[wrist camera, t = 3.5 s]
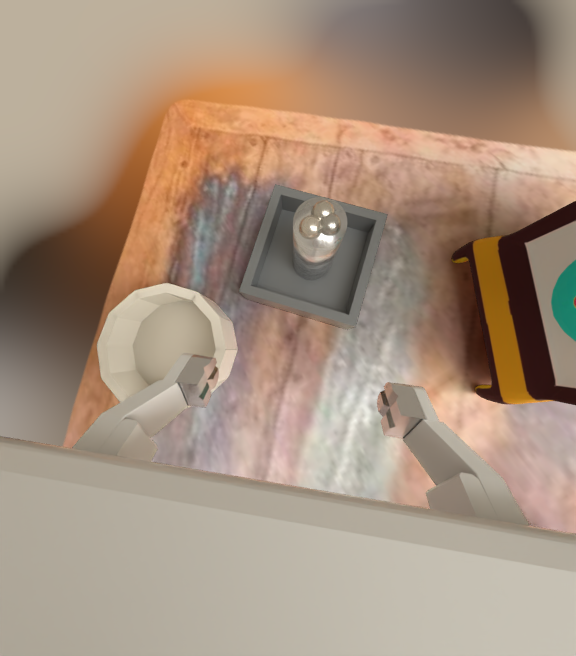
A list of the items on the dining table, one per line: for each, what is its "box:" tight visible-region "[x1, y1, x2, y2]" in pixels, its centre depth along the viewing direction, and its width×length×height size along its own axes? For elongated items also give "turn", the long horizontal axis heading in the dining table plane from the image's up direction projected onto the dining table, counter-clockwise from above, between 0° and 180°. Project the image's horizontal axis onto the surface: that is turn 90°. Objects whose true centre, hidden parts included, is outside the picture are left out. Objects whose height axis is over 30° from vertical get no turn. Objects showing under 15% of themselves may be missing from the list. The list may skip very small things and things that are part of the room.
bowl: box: [97, 283, 238, 408], centre depth 23 cm, size 13×13×4 cm
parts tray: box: [239, 184, 388, 330], centre depth 25 cm, size 13×13×4 cm
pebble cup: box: [293, 197, 347, 280], centre depth 21 cm, size 4×4×9 cm
